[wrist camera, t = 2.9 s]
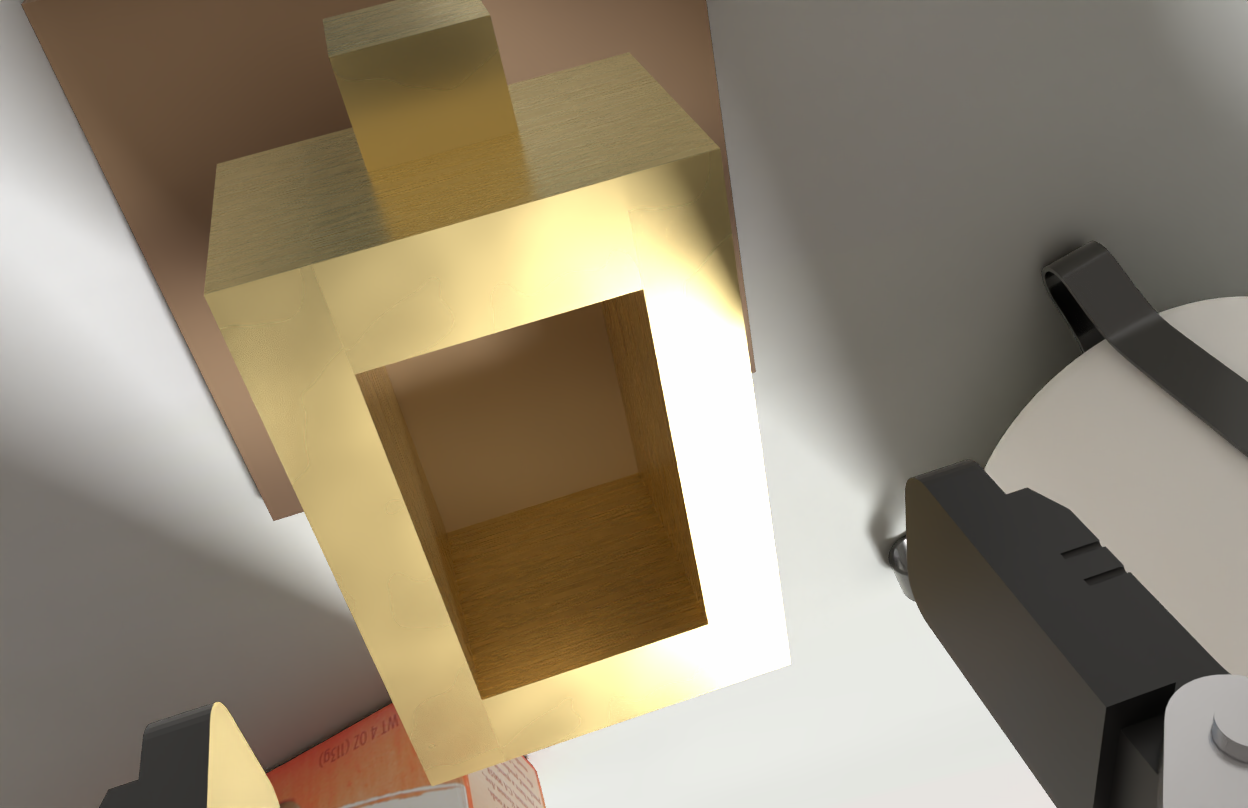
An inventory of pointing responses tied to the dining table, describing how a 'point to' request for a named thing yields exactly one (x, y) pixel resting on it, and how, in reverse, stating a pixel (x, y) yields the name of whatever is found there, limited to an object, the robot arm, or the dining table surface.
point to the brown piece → (313, 106)
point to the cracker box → (394, 774)
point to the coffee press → (1145, 444)
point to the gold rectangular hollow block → (489, 303)
